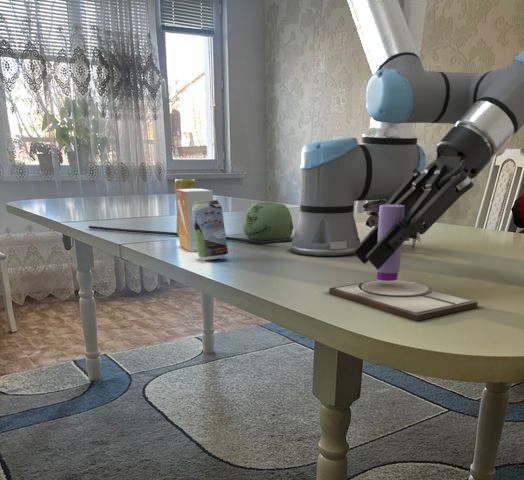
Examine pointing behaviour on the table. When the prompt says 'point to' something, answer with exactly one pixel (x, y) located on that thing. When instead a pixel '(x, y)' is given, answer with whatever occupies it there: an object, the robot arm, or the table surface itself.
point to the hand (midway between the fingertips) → (365, 260)
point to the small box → (189, 215)
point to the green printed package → (209, 229)
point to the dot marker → (386, 222)
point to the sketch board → (404, 298)
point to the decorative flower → (374, 218)
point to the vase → (183, 185)
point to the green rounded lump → (268, 222)
